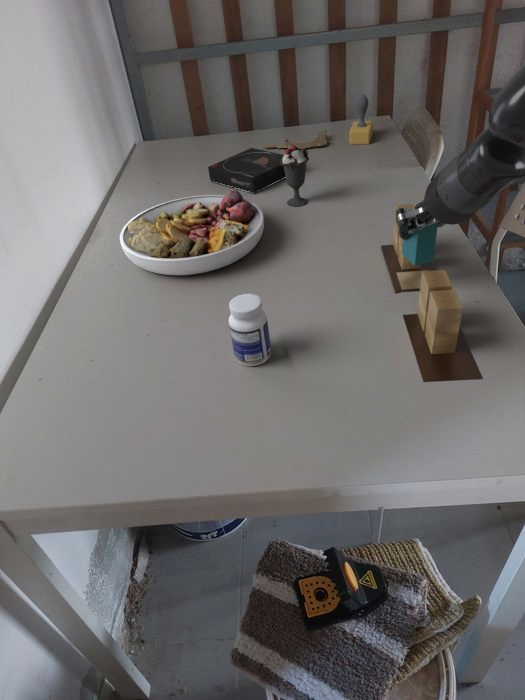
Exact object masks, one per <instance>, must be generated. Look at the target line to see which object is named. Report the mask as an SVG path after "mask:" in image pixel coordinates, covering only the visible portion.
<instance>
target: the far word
mask: <svg viewBox="0 0 525 700" xmlns="http://www.w3.org/2000/svg"><path fill="white" fill-rule="evenodd" d="M415 206H416V205H415V204H414V203H407V204H396V205H394V216H393V217H394V219H393V233H392V244H382V245H380V250H381V252H382V256H383V259H384V263H385V265H386V269H387V272H388V275H389V280H390V282H391V285H392V289H393V292H394V294H395V295H397V294H401V293H415V292H420V286H421V277H422V271H435V267H434V265H433V262H430V263H426V264H421V265H417V266H414V265H413V264H412V263H411V262H410V261H409V260H408V259H407V258H406V257H405V256H404V255H403V254H402V247H403V239H402V238H400V234H399V231H398V229H399V228H398V225H397V222H396V210H398V209H399V208H404V210H410V209H414V208H415Z"/></svg>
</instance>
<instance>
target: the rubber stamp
mask: <svg viewBox="0 0 525 700" xmlns="http://www.w3.org/2000/svg"><path fill="white" fill-rule="evenodd" d="M355 105H356V106H355V107H356V110H357V114H358V117H359V120H355V121H353V123H352V125H351V128H350V130H349V144H350V145H369V144H370V143H371V140H372V136H373V133H374V121H373V120H365V116H366V114H367V111H368V108H369V99H368V97H367V95H365V94H361V95H359V96H357V98H356V101H355Z"/></svg>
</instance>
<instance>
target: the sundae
mask: <svg viewBox="0 0 525 700" xmlns="http://www.w3.org/2000/svg"><path fill="white" fill-rule="evenodd" d="M284 142H285V143H286V144H287V149H285V150H284V152H285V153H284V154H283V155H284V156H283V158H282V159H280V164H281V165H283V166H284V170H285V175H286V178H285V179H286V184H287V185H288V186H289V187H290V188H291V189H293V197H291V198H289V199H288V200H287V201H286V205H287V204H288V206H289V207H292V206H294V207H293V208H297V207H298V206H299V207H302V206H305V205H306V204H308V199H307V198H305V197H301V195H300V188H301V187H302V186H303V185H304V184H305V181H306V174H307V173H306V170H307V163H308V162H309V160H310V157H309V151H308V149H306V147H305V148H304V149H302V150H301V149H300V148H298V147H296V146H294V145H292V144H291V143H290V142H289V139H286V140H284ZM288 143H290V144H291V145H292V147H291V149H288Z"/></svg>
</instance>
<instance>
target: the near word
mask: <svg viewBox="0 0 525 700" xmlns="http://www.w3.org/2000/svg"><path fill="white" fill-rule="evenodd" d="M434 270H435V269H434ZM453 287H454V286H453V283H452V281H451V280H450V278H449V275H448V273H447V271H446V269H439V270H438V269H436V270H435V271H422V277H421V286H420V291H419V294H418V304H417V313H410V314H409V313H408V314H402V318H403V321H404V324H405V328H406V330H407V334H408V337H409V340H410V345H411V347H412V350H413V353H414V356H415V357H414V358H415V360H416V363H417V366H418V369H419V372H420V375H421V379H422V382H423V383H434V382H437V383H438V382H453V381H455V382H456V381H472V380H473V381H474V380H475V381H476V380H484V377H483V375H482V374H481V373H482V372H481V371H480V369H479V366H478V364H477V362H476V359H475V357H474V355H473V353H472V351H471V348H470V346H469V343H468V341H467V339H466V338H465V335H464V333H463V330H462V329H461V321H462V315H463V310H464V307H463V305H462V303H461V300H460V299H459V297H458V295H457V292H456V290H455V289H453Z"/></svg>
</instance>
